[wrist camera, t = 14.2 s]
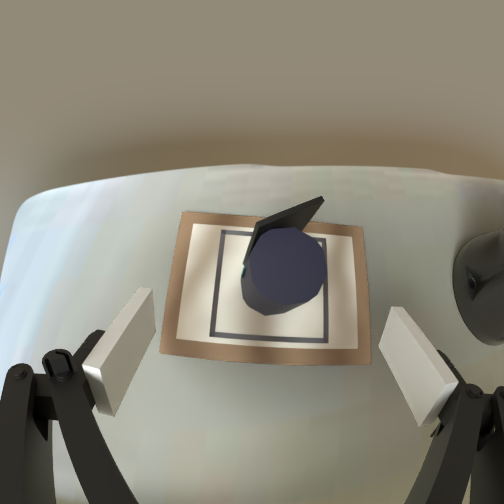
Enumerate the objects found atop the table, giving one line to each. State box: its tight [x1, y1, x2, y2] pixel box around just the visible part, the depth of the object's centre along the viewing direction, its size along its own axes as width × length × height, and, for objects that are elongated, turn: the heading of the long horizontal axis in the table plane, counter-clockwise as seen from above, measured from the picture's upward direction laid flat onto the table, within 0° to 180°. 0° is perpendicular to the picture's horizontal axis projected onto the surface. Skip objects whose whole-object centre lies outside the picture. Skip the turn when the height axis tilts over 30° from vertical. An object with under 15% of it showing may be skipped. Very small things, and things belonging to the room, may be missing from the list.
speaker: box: [240, 196, 328, 316], centre depth 24 cm, size 8×6×10 cm
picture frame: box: [159, 212, 371, 365], centre depth 29 cm, size 20×15×1 cm
